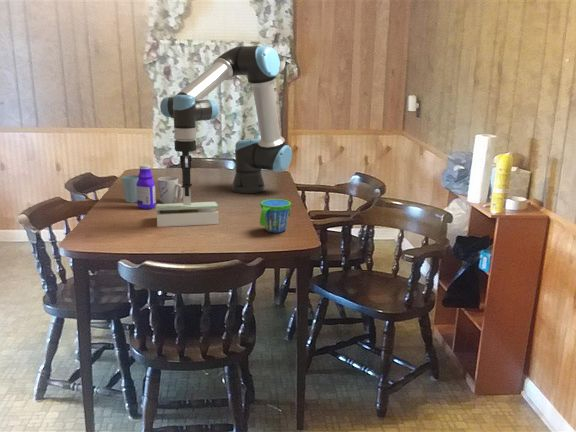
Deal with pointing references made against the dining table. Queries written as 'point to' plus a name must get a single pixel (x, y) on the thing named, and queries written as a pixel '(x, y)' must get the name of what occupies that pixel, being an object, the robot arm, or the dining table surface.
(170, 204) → the cover
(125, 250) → the dining table surface
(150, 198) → the bottle
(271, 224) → the snack cup
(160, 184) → the mug
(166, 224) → the grey rectangular box
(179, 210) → the orange rectangular block
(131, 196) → the cup
